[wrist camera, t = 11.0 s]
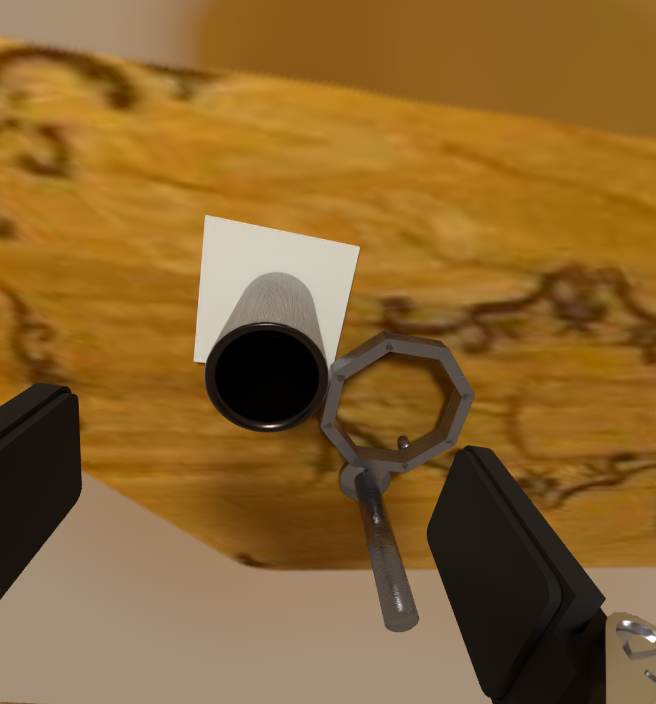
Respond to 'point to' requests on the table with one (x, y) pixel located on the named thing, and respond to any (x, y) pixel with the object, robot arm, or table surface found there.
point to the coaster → (264, 257)
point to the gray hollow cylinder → (269, 357)
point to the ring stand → (390, 462)
